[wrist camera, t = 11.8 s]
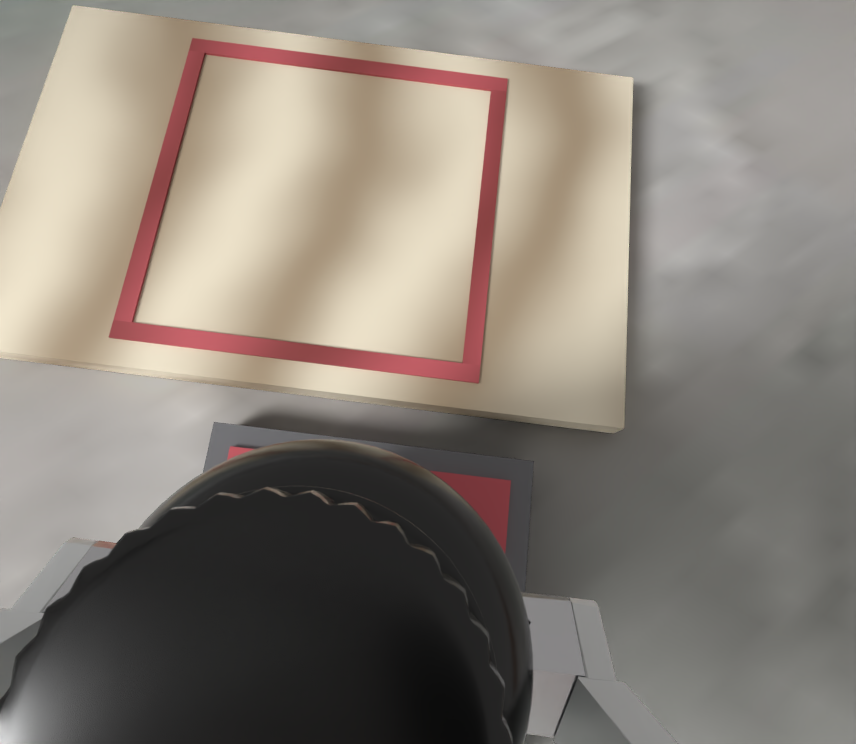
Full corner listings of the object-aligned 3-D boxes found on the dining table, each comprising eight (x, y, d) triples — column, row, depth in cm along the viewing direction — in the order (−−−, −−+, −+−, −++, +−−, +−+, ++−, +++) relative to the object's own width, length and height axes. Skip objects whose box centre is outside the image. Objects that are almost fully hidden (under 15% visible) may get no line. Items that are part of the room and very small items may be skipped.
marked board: (-27, 354, 20) (-51, 344, 19) (86, 26, 24) (71, 2, 23) (613, 433, 20) (625, 427, 19) (623, 95, 24) (634, 75, 23)
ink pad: (164, 732, 17) (138, 753, 16) (227, 430, 20) (212, 420, 18) (502, 771, 17) (512, 797, 16) (524, 466, 20) (535, 460, 18)
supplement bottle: (180, 631, 16) (-358, 869, 5) (330, 434, 18) (203, 253, 6) (379, 791, 16) (313, 1542, 4) (517, 568, 17) (755, 638, 6)
